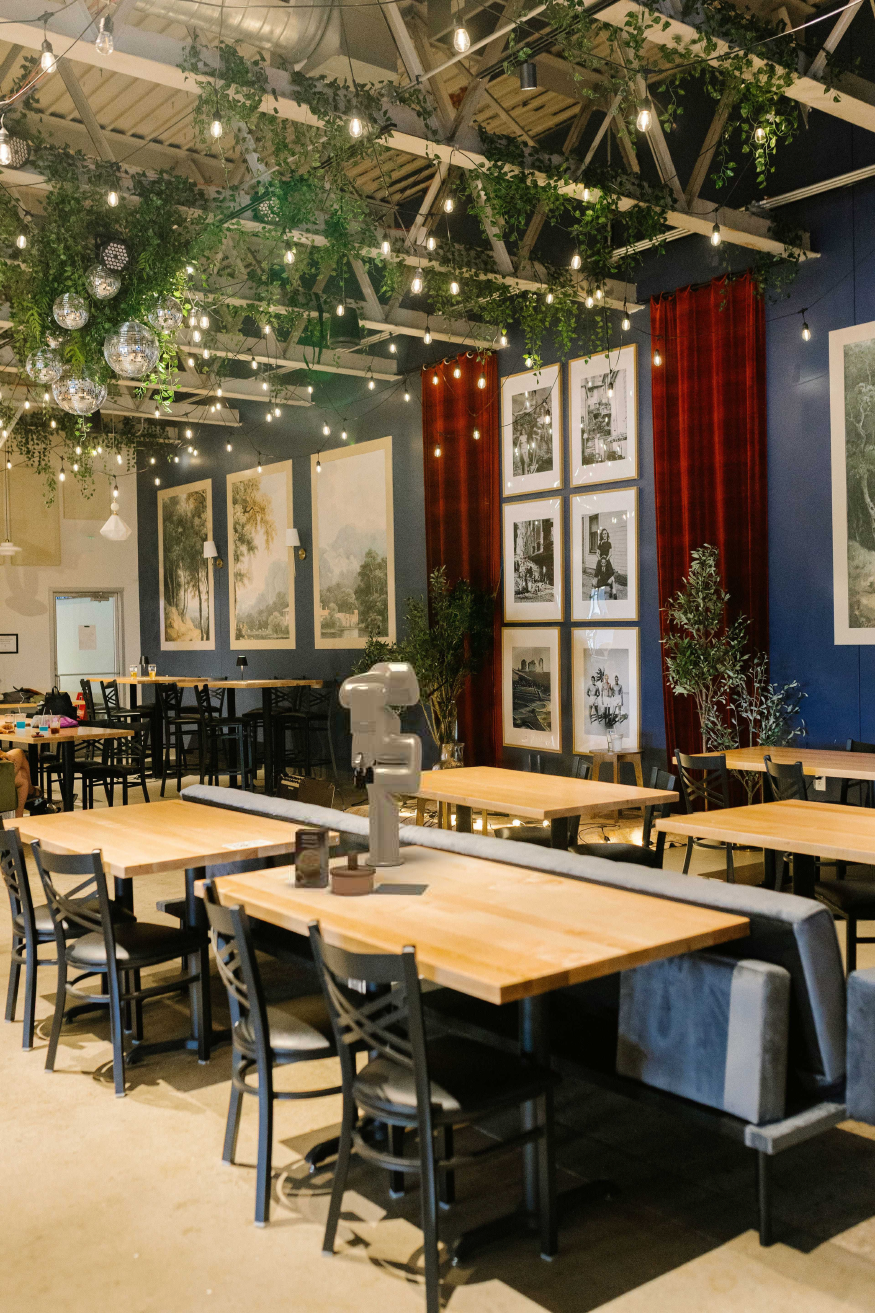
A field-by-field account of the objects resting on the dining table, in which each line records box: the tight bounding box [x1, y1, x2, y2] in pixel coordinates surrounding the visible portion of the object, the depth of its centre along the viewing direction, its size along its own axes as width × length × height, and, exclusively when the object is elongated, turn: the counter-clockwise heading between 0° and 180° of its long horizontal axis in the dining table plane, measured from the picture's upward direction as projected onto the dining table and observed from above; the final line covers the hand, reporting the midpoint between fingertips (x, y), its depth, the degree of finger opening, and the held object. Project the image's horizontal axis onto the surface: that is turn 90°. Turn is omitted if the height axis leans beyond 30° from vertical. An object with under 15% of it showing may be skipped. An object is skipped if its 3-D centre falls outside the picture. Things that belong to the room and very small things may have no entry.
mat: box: [371, 883, 430, 896], centre depth 300 cm, size 14×14×1 cm
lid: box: [329, 850, 377, 877], centre depth 299 cm, size 13×13×6 cm
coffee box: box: [294, 828, 330, 889], centre depth 309 cm, size 9×6×16 cm
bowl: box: [331, 874, 375, 897], centre depth 298 cm, size 11×11×6 cm
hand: (364, 786), depth 309 cm, fingers open, 9 cm apart
